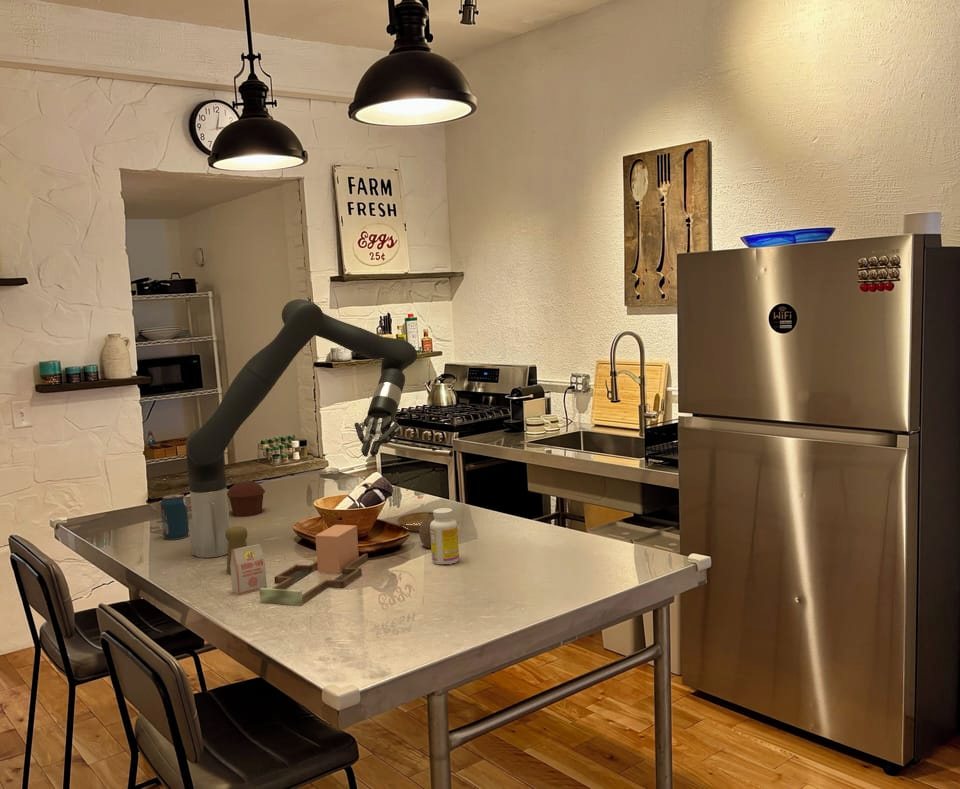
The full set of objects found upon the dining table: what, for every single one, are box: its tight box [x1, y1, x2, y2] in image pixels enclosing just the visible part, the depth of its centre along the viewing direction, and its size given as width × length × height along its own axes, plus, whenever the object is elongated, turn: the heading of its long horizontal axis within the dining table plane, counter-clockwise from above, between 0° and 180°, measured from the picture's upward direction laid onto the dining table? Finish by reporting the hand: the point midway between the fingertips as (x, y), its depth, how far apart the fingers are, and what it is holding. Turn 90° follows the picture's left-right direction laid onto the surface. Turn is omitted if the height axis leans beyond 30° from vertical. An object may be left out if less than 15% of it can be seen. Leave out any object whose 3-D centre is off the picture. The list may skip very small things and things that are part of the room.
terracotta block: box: [315, 524, 360, 574], centre depth 212 cm, size 6×10×9 cm, turn 162°
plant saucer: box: [396, 511, 431, 532], centre depth 246 cm, size 15×15×3 cm
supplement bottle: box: [430, 507, 460, 565], centre depth 211 cm, size 7×7×13 cm
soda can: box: [160, 493, 190, 541], centre depth 246 cm, size 7×7×12 cm
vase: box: [418, 511, 435, 549], centre depth 225 cm, size 7×7×9 cm
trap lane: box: [258, 553, 369, 606], centre depth 202 cm, size 18×33×3 cm, turn 162°
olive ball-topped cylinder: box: [225, 525, 248, 575], centre depth 211 cm, size 6×6×11 cm
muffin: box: [227, 480, 266, 518], centre depth 271 cm, size 12×11×10 cm
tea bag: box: [230, 543, 268, 596], centre depth 197 cm, size 4×7×10 cm, turn 126°
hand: (368, 454), depth 228 cm, fingers closed
